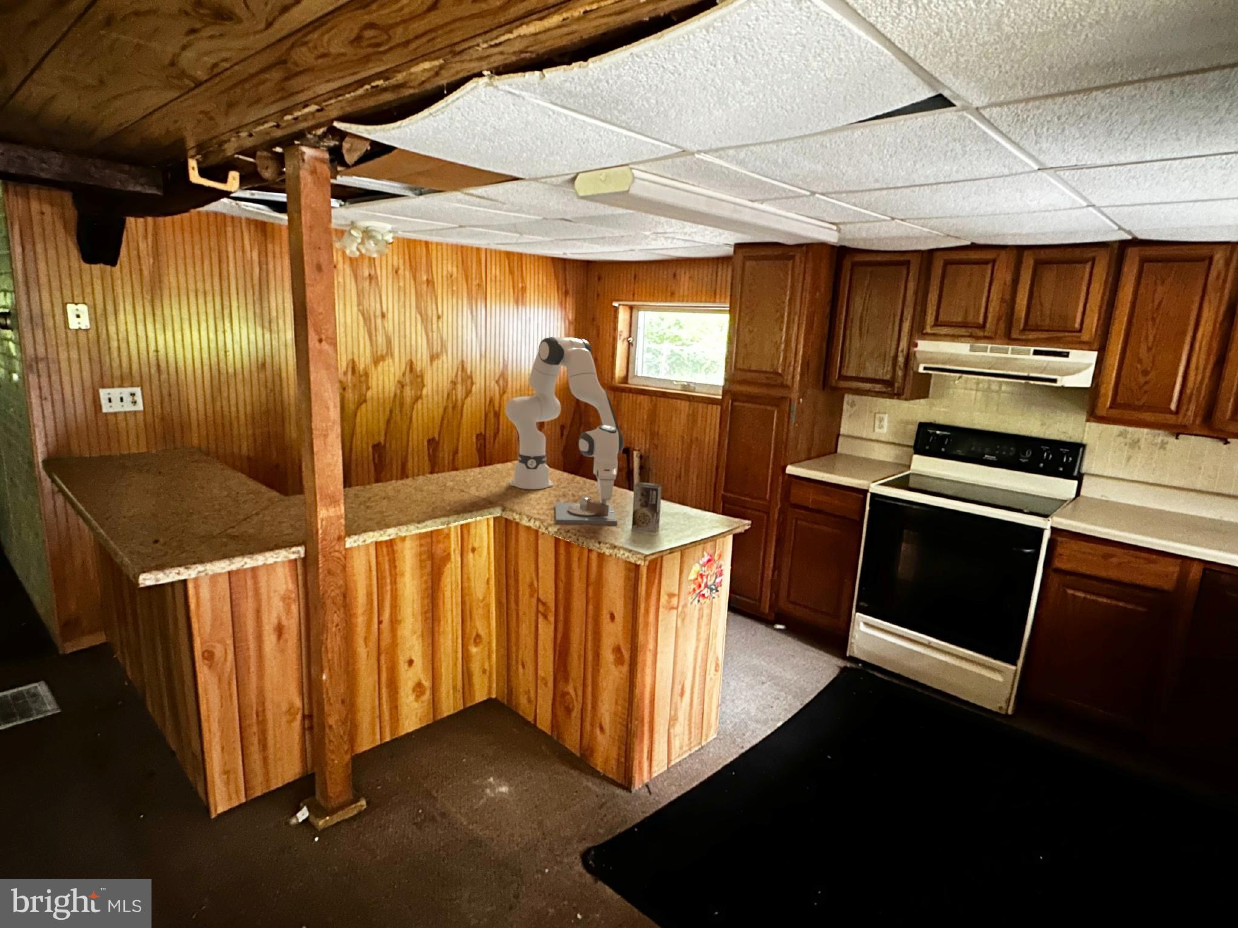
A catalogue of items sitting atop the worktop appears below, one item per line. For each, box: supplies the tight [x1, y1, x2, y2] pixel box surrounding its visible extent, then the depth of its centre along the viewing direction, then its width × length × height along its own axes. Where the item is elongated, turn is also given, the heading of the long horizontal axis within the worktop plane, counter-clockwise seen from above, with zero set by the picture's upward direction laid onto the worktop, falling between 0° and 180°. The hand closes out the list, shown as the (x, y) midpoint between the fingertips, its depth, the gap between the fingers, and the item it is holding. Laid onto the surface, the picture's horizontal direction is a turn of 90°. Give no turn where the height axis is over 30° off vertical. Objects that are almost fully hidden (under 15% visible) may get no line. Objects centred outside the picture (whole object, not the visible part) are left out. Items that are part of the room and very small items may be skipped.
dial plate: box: [554, 502, 618, 526], centre depth 246 cm, size 22×22×2 cm
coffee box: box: [631, 481, 663, 533], centre depth 233 cm, size 9×6×16 cm
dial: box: [568, 496, 609, 517], centre depth 244 cm, size 18×13×5 cm
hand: (603, 505), depth 246 cm, fingers closed
